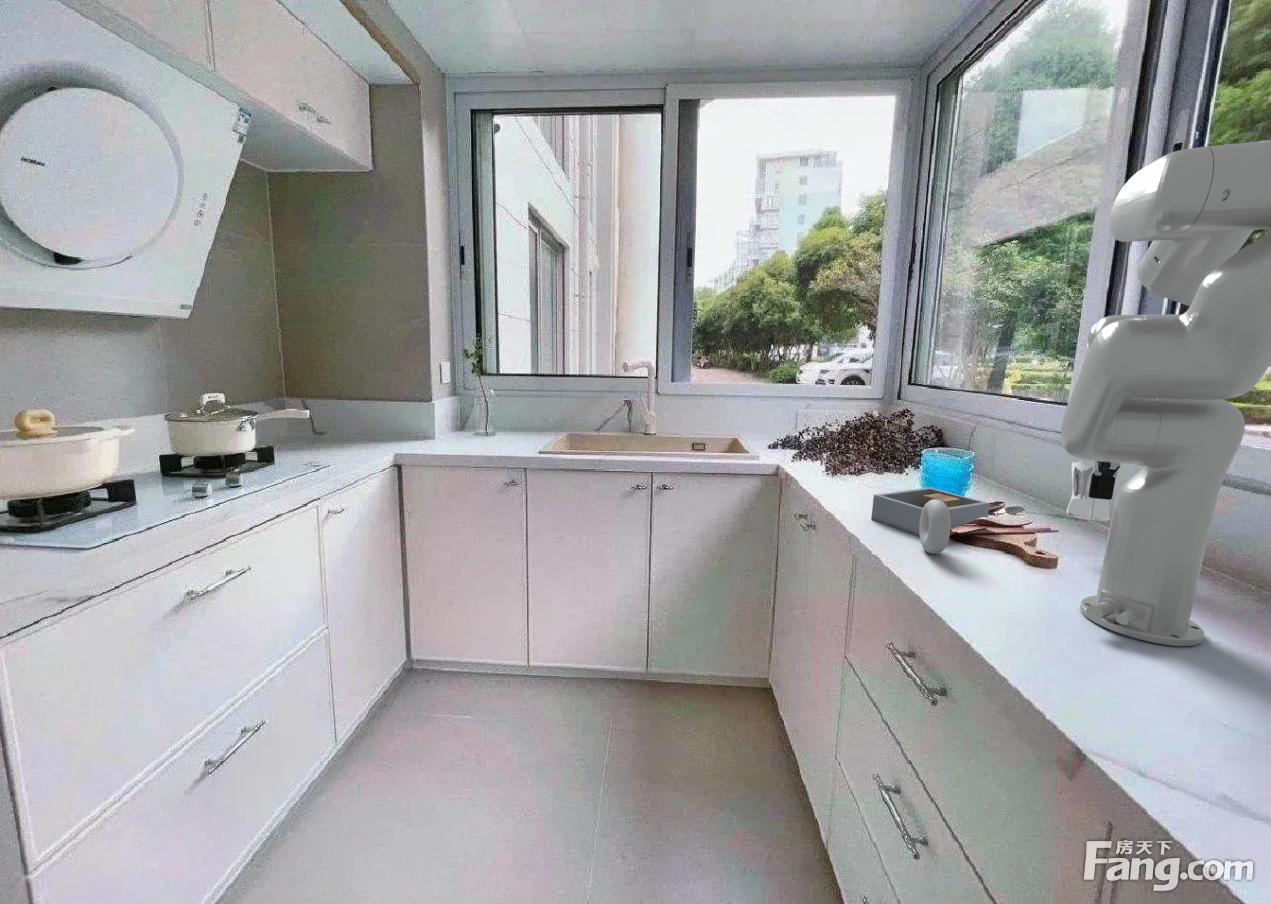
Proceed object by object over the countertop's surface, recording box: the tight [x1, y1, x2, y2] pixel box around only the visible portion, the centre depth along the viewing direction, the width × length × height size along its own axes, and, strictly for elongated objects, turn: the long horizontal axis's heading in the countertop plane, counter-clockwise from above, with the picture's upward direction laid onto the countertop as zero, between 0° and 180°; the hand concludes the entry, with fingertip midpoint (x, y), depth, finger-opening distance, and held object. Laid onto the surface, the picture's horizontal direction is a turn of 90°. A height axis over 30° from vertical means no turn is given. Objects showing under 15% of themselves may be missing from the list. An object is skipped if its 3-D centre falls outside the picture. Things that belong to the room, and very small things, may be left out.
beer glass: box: [1065, 455, 1123, 522], centre depth 98 cm, size 7×7×15 cm
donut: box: [919, 499, 951, 555], centre depth 101 cm, size 10×4×10 cm, turn 165°
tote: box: [870, 486, 991, 537], centre depth 118 cm, size 18×14×6 cm
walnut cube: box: [922, 493, 960, 508], centre depth 120 cm, size 5×5×5 cm
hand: (1090, 493), depth 98 cm, fingers closed on beer glass, 6 cm apart
